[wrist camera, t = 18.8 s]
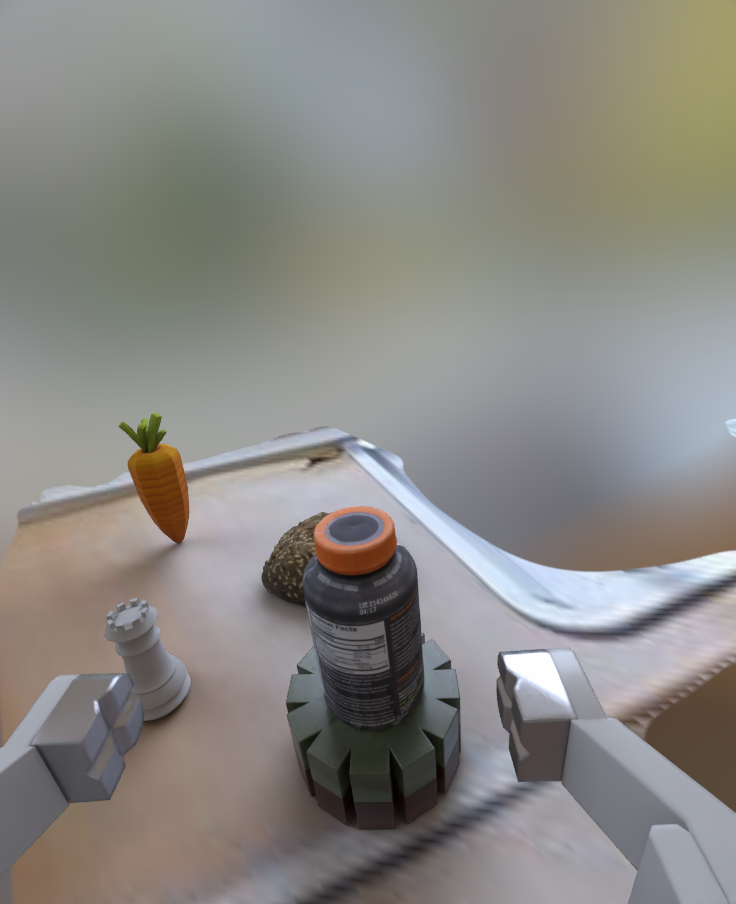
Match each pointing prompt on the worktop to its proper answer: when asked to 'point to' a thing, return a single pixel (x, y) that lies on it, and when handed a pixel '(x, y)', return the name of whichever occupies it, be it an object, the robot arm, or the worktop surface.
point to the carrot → (159, 478)
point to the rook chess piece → (147, 659)
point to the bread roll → (291, 561)
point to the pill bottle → (365, 619)
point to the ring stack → (377, 748)
